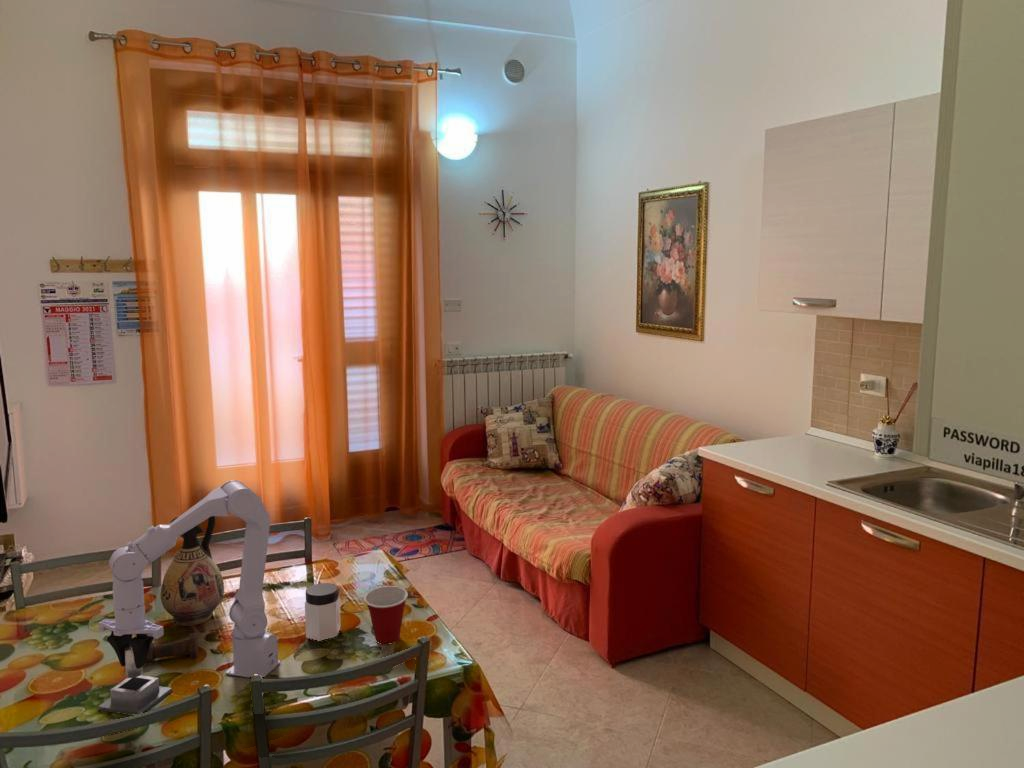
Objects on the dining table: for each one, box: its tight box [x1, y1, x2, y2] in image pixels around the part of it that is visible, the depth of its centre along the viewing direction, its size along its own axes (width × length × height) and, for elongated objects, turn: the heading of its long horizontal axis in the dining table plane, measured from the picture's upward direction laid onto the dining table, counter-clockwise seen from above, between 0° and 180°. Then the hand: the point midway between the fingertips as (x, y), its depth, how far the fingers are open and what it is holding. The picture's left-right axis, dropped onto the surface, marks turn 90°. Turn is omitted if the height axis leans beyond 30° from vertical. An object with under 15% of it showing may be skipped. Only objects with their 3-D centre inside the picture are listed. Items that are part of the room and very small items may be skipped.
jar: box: [304, 582, 341, 642], centre depth 191 cm, size 9×8×12 cm
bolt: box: [146, 632, 199, 665], centre depth 179 cm, size 6×5×15 cm
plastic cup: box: [363, 585, 409, 645], centre depth 188 cm, size 11×11×12 cm
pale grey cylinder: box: [124, 645, 144, 678], centre depth 160 cm, size 3×3×6 cm
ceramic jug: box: [160, 516, 227, 627], centre depth 199 cm, size 17×15×30 cm
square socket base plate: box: [97, 674, 173, 716], centre depth 161 cm, size 10×10×4 cm
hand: (133, 665), depth 160 cm, fingers closed on pale grey cylinder, 3 cm apart
